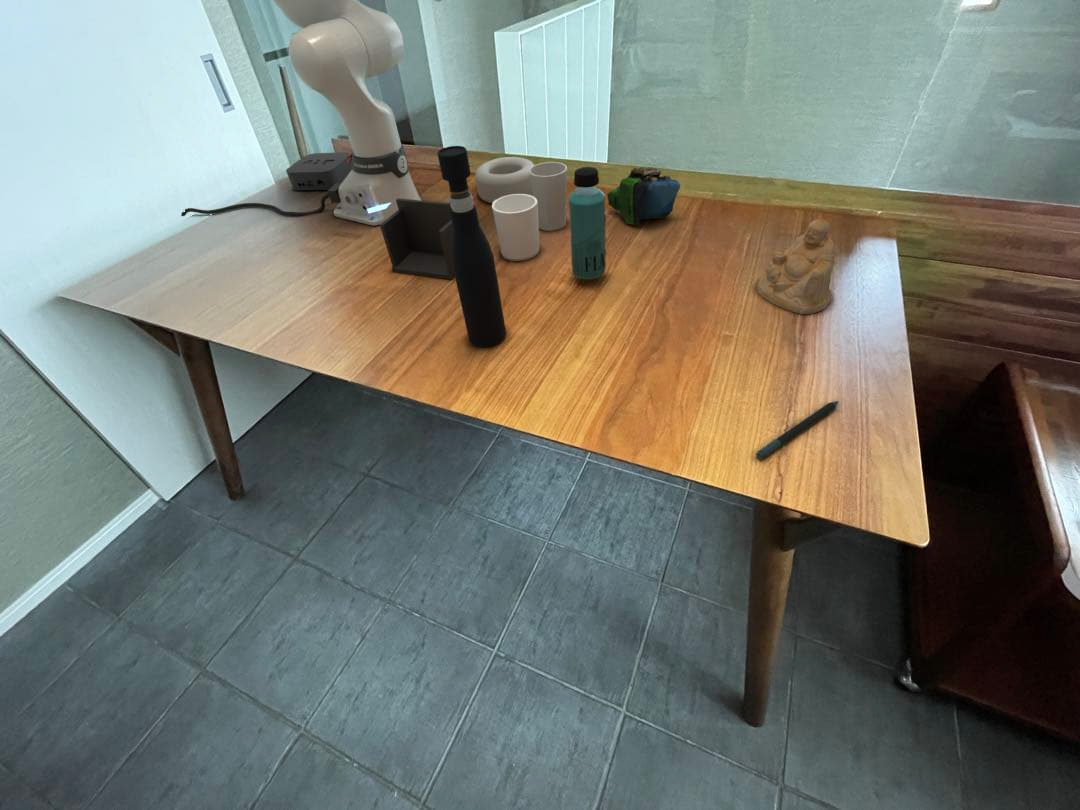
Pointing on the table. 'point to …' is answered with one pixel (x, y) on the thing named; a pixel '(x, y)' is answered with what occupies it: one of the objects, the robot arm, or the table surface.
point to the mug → (517, 226)
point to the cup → (550, 194)
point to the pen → (796, 430)
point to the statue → (801, 272)
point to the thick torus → (503, 178)
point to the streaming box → (319, 171)
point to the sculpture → (644, 195)
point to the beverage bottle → (587, 225)
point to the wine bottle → (472, 255)
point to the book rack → (420, 238)
